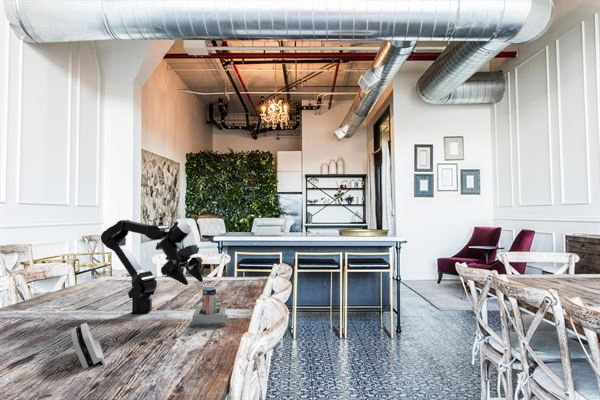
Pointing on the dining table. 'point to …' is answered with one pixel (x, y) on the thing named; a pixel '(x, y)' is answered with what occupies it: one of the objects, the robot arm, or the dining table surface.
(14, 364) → the dining table surface
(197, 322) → the rail block
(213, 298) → the labelled cylindrical container
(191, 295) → the dining table surface
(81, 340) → the grey grooved device
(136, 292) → the robot arm
